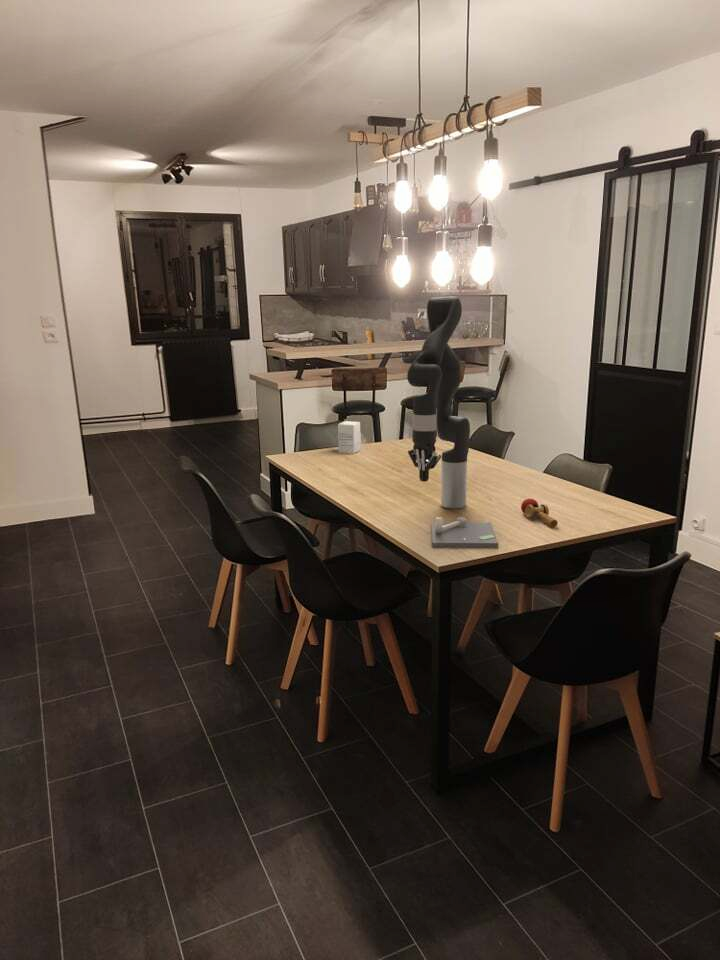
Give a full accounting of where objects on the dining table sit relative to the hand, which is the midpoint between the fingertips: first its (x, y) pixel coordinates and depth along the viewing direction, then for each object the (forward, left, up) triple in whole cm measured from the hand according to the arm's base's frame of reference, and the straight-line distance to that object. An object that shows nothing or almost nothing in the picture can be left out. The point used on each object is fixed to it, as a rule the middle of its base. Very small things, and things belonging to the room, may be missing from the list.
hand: (424, 481), depth 217 cm
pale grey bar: (+1, +9, -16) cm, 18 cm away
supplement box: (-122, -36, -18) cm, 128 cm away
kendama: (-14, +40, -18) cm, 46 cm away
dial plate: (+4, +12, -18) cm, 22 cm away
